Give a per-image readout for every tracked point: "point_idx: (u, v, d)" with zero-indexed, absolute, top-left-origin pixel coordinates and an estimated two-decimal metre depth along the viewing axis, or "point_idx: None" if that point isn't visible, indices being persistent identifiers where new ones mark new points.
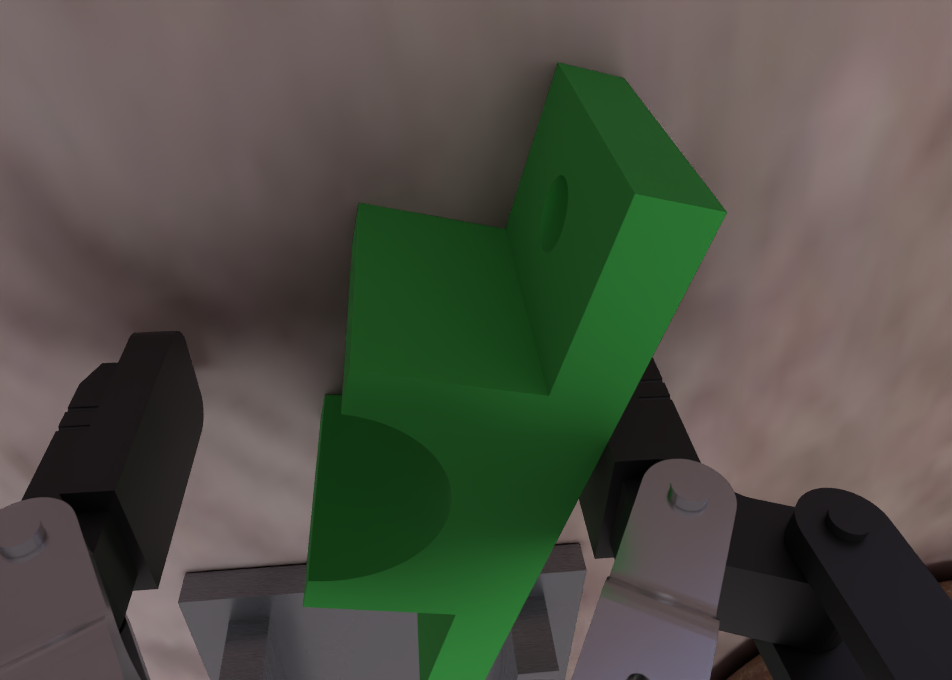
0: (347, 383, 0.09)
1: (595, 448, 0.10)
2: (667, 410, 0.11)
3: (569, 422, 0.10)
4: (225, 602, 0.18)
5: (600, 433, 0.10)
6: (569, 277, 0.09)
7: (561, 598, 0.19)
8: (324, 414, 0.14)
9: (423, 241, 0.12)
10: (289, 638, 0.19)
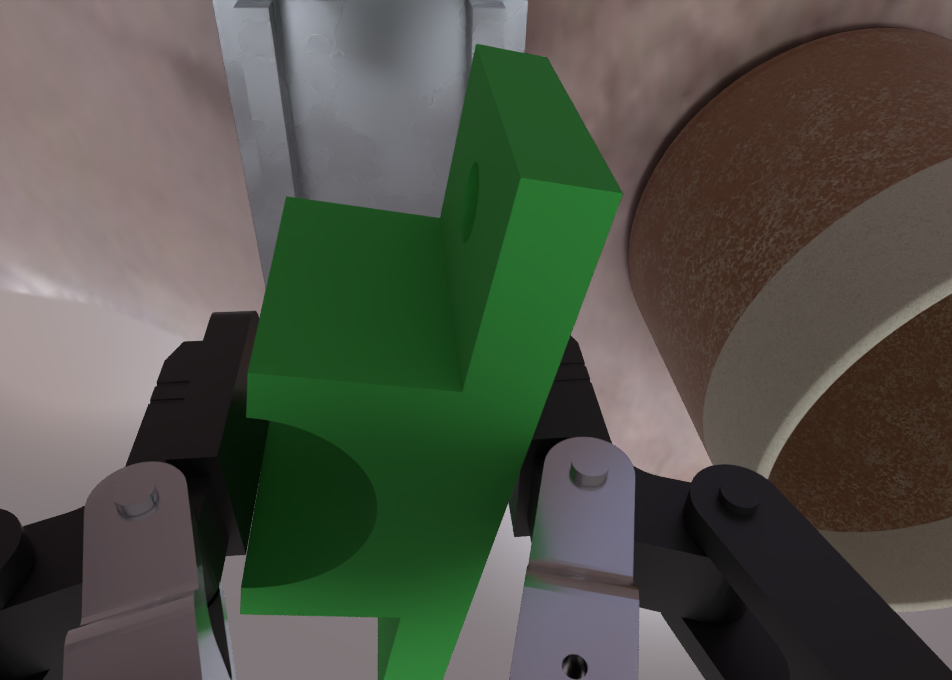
0: (248, 385, 0.09)
1: (520, 444, 0.10)
2: (585, 392, 0.11)
3: (488, 418, 0.09)
4: None
5: (522, 428, 0.10)
6: (477, 268, 0.09)
7: None
8: None
9: (349, 236, 0.11)
10: (291, 25, 0.23)
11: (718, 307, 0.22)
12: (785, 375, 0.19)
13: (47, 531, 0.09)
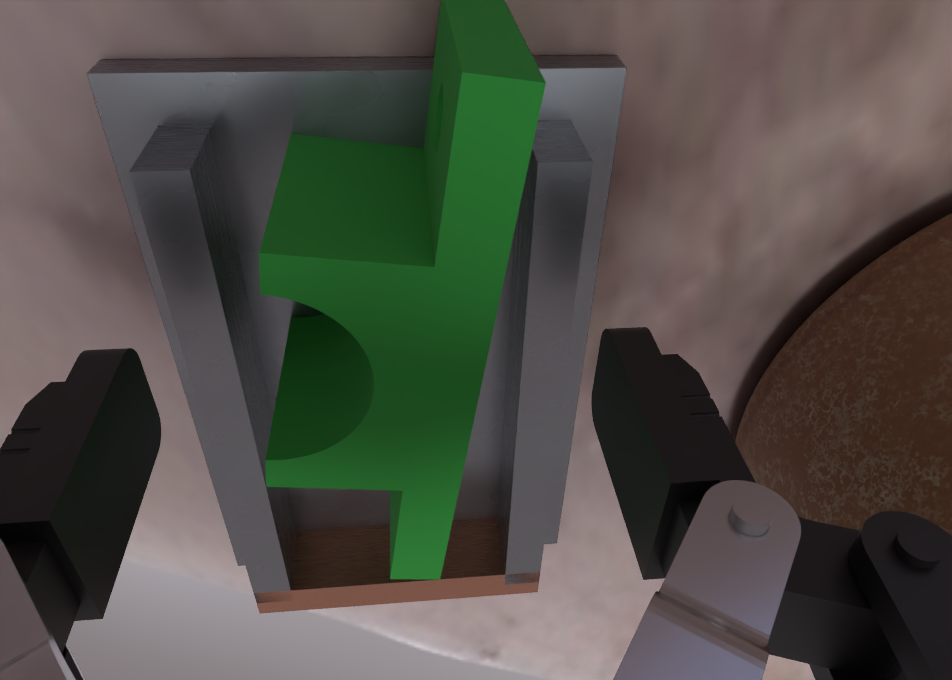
0: (260, 265, 0.11)
1: (488, 317, 0.12)
2: (717, 427, 0.11)
3: (458, 292, 0.11)
4: (151, 83, 0.13)
5: (488, 301, 0.12)
6: (442, 163, 0.11)
7: (592, 128, 0.15)
8: (288, 335, 0.16)
9: (344, 161, 0.13)
10: (240, 174, 0.14)
11: None
12: None
13: None
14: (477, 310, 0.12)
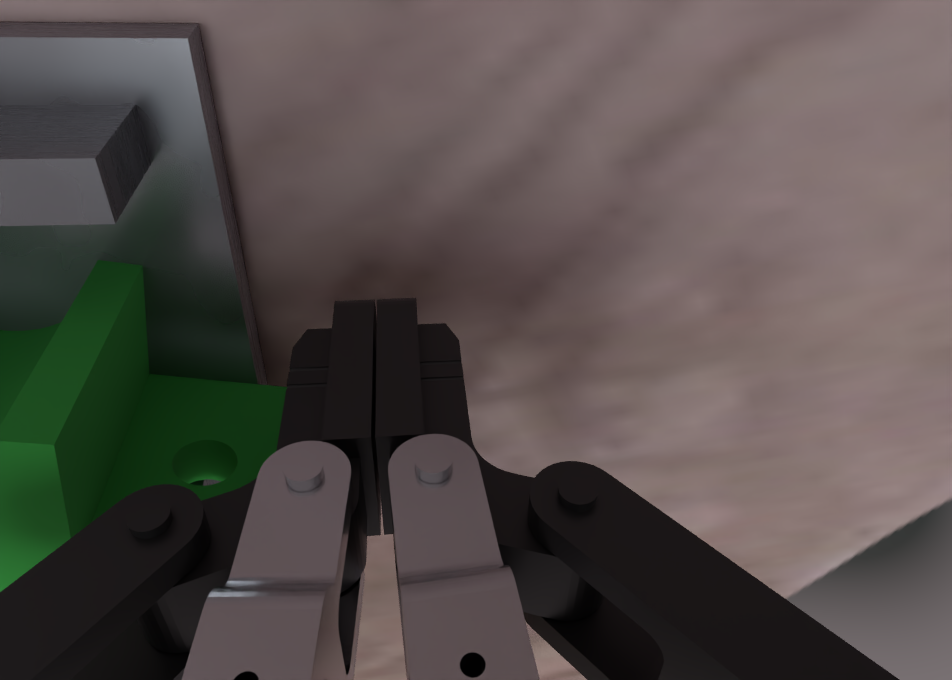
0: (34, 441, 0.10)
1: None
2: (455, 389, 0.11)
3: None
4: (189, 107, 0.11)
5: None
6: None
7: None
8: None
9: (130, 347, 0.13)
10: None
11: None
12: None
13: (216, 508, 0.10)
14: None
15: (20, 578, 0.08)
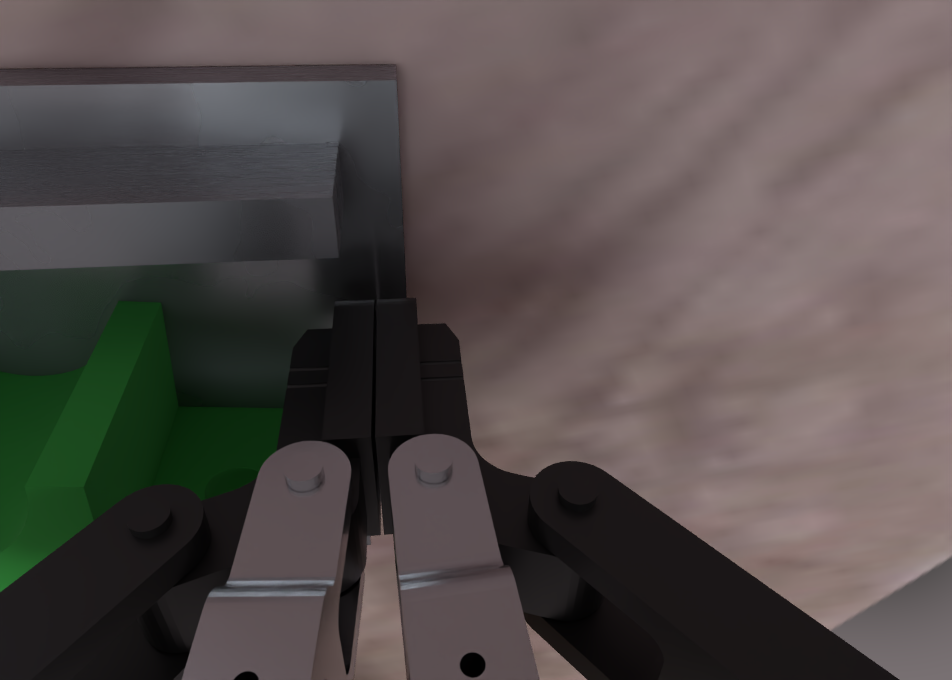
0: (65, 485, 0.10)
1: None
2: (455, 389, 0.11)
3: None
4: (387, 144, 0.12)
5: None
6: None
7: None
8: None
9: (156, 382, 0.13)
10: None
11: None
12: None
13: (215, 507, 0.10)
14: None
15: (20, 578, 0.08)
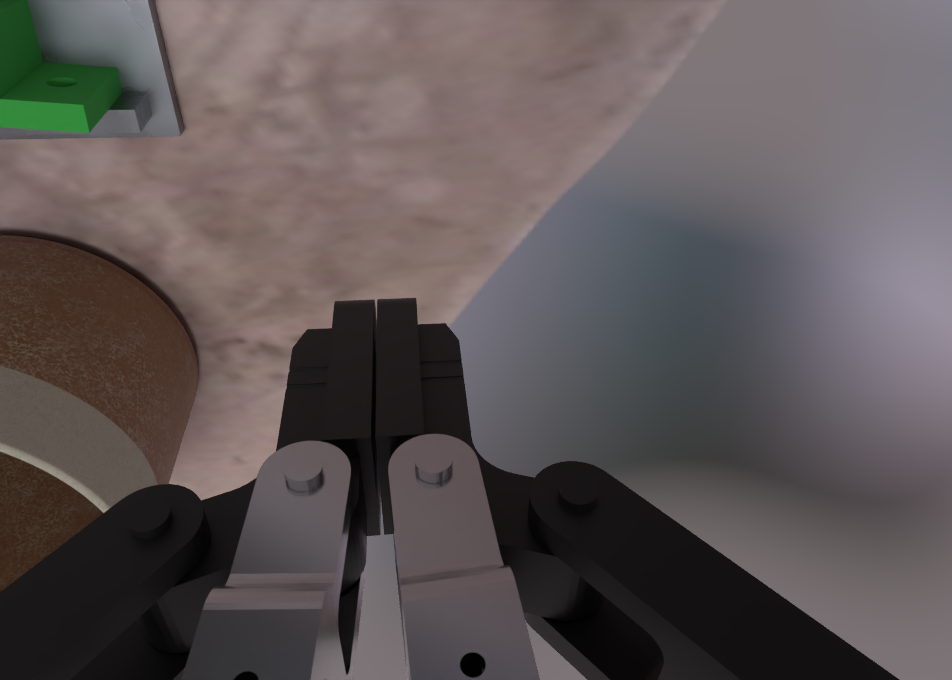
0: None
1: None
2: (455, 389, 0.11)
3: None
4: None
5: None
6: (44, 94, 0.28)
7: (150, 125, 0.33)
8: None
9: (23, 31, 0.29)
10: None
11: None
12: None
13: (215, 508, 0.10)
14: None
15: (20, 578, 0.08)
